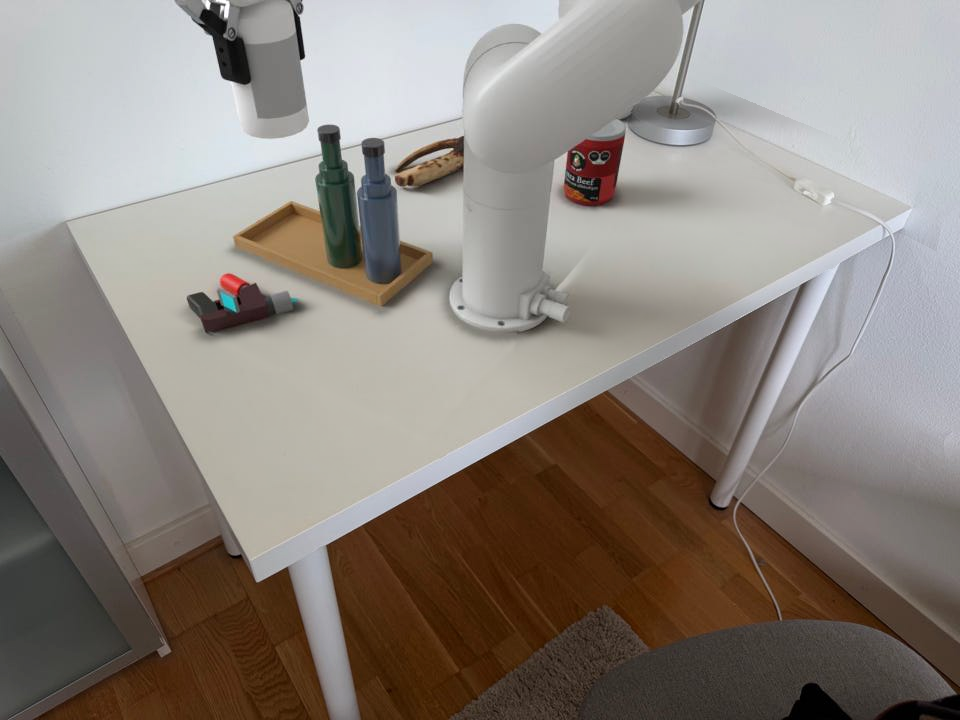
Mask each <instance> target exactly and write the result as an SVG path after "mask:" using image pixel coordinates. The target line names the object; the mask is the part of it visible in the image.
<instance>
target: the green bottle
mask: <svg viewBox="0 0 960 720" xmlns="http://www.w3.org/2000/svg"><path fill="white" fill-rule="evenodd" d="M316 130H317V138H318V141H319V142H320V149H321V151H320V152H321V156H322V157H321V158H322V160H321V162H319V163H318V173H317V174H316V175H315V177H314V181H315V188H316V189H315V190H316V194H317V202H318V207H319V208H318V209H319V211H320V215H321V222H322V229H323V236H324V242H325V249H326V256H327V261H328V263H329V264H330V265H331V266H333V267H336V268H350V267H354V266H356V265H358V264H359V263H360V262H361V261H362V258H363V256H362V246H361V237H360V228H359V226H360V217H359V208H358V199H357V191H356V190H357V189H356V182H355V176H354V173H353V172H352V171H350V170H349V164H348V162H347V161H346V160H345V159H343V158H342V150H341V139H342V138H341V136H342V135H341V130H340V126H338V125H336V124H322V125H320V126H318V128H317V129H316Z"/></svg>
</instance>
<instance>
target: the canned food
mask: <svg viewBox="0 0 960 720" xmlns="http://www.w3.org/2000/svg"><path fill="white" fill-rule="evenodd" d="M626 130H627V126H626V123H624V122H623V121H622V120H621V119H620V120H618V119H615V120H613V121H612V122H610V123H609V124H607V125H606V126H604V127H603V128H601V129H600V130H599V131H597V132H596V133H594V134H593V135H591V136H590V137H588V138H587V139H585V140H584V141H582V142H581V143H580V144H578V145H577V146H575V147H574V148H572V149H571V150H569V151H568V152H566V154H567V155H566V163H565V170H564V171H565V172H564V181H563V192H564V196H565V197H566V198H567V199H568V200H569V201H571V202H572V203H574V204H577V205H581V206H586V207H596V206H602V205H605V204H607V203H610V201H612V199H613V198H614V196H615V194H616V189H617V183H618V178H619V174H620V173H619V172H620V167H621V160H622V155H623V150H624V144H625V140H626V132H627V131H626Z"/></svg>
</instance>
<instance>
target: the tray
mask: <svg viewBox="0 0 960 720" xmlns="http://www.w3.org/2000/svg"><path fill="white" fill-rule="evenodd" d="M359 228H360V237H361V246H362V256H363V258H362V261H361V262H360V263H359V264H358V265H356V266H354V267H350V268H336V267H333V266H331V265H330V264H329V263H328V261H327V256H326V249H325V242H324V236H323V229H322V222H321V215H320V210H318V209H314V208H312V207H309V206H306V205H304V204H301V203H298V202H296V201H292V200H290V201H288V202H287V203H285V204H284V205H282V206H280V207H278V208H277V209H275V210H274V211H272V212H270V213H269V214H267V215H265V216H264V217H262V218H260V219H259V220H257V221H256V222H254V223H252V224H251V225H248V226H247V227H246V228H244V229H243V230H240V231H239V232H238V233H236V234H234V235H233V236H232V239H233V243H234V246H235V248H238V249H240V250H243V251H246V252H248V253H250V254H253V255H255V256H258V257H261V258H262V259H264V260H267V261H270V262H272V263H274V264H277V265H280V266H282V267H284V268H287V269H289V270H292V271H294V272H296V273H299V274H301V275H304V276H306V277H308V278H311V279H313V280H316V281H318V282H320V283H323V284H325V285H328V286H330V287H332V288H335V289H338V290H339V291H343V292H345V293H347V294H350V295H352V296H355V297H357V298H359V299H362V300H364V301H366V302H369V303H371V304H373V305H376V306H379V307H383V306H384V305H385V304H386V303H388V302H389V301H390V300H391V299H392V298H394V297H395V296H396V295H397V294H398V293H399V292H400V291H402V290H403V289H404V288H405V287H406V286H408V285H409V284H410V283H411V282H412V281H413V280H414V279H415V278H417V277H418V276H419V275H420V274H421V273H422V272H424V271H425V270H426V269H427V268H429V266H430V265H432V264H433V263H434V258H433V252H432V251H429V250H428V249H425V248H421V247H420V246H419V247H418V246H416V245H413V244H410V243H408V242H405V241H402V240H400V251H401V267H402V274H401V275H400V276H398V277H397V278H396V279H395V280H394V281H392V282H391V283H388V284H377V283H373V282H371V281H369V280H368V279H367V277H366V274H365V264H364V255H363V245H362V236H361V226H360V225H359Z"/></svg>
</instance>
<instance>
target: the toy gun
mask: <svg viewBox="0 0 960 720" xmlns="http://www.w3.org/2000/svg"><path fill="white" fill-rule="evenodd" d="M219 284H220V287H221V288H220V287H218V288H217V289H216V292H217V296H218V299H216V300H212V299H211V298H210V297H209V296H208V295H207V294H206V293H205V292H203V291H199V292H196V293H192V294H188V295H187V296H186V301H187V304H188V307H189V309H190V310H191V311H192V312H193V313H194V314H195V315H196V316H197V317H198V318H199V319H200V322H201V325H202V326H203V330H204V333H205V334H209V335H212V336H213V335H214V334H213V333H217V332H220V331H225V330H227V329H232V328H234V327H238V326H243V325H246V324H249V323H254V322H258V321H261V320H264V319H269V318H270V316H272V315H275V316H276V315H281V314H285V313H288V312H291V311H294V304H293V303H295V302H296V301H297V300H299V299H300V298H299V297H291V295H290V292H289V291H288V290H284V291H281V292H277V293H272V294H269V297H268V296H267V297H263V294H262V292H261V290H260V289H259V286H258V284H257V282H254V283H250V282H248V281H246V280H244V279H243V278H240V277H238V276H237V275H235V274H233V273H231V272H228V273H224V274H223V275H222V276H221V277H220V279H219Z"/></svg>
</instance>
